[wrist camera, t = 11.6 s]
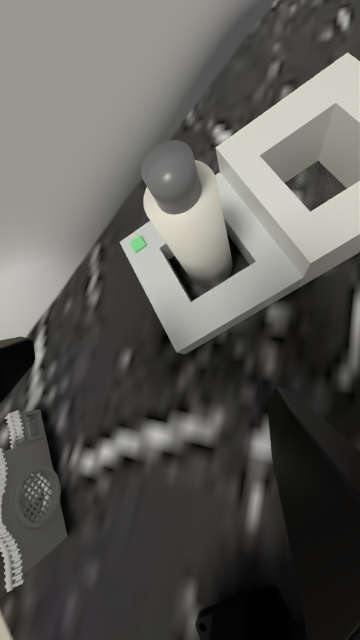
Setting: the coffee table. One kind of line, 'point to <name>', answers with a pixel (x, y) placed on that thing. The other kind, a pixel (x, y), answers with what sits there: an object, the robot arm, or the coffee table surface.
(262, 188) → the jack housing
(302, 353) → the coffee table surface
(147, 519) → the coffee table surface
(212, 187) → the plug
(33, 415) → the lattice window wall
